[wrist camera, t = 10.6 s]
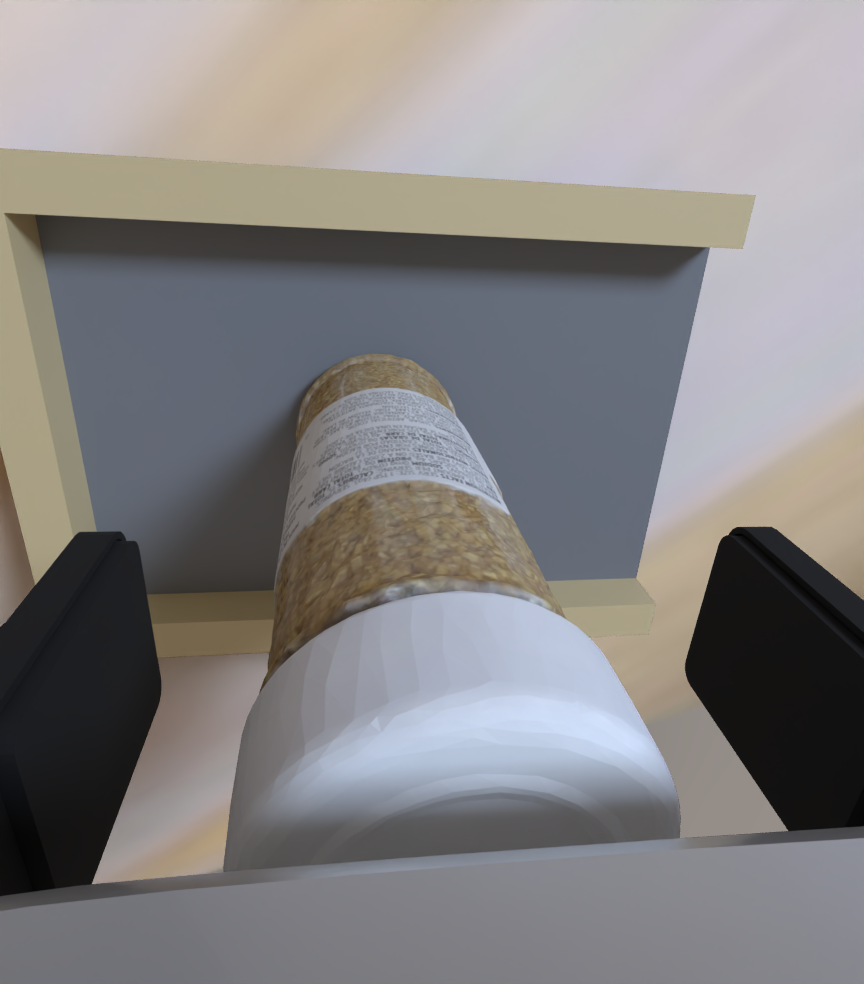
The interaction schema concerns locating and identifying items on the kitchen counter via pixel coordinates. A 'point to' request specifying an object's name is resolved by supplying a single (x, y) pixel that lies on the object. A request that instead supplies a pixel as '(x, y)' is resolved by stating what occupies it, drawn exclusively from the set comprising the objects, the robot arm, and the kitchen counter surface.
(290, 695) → the sprinkles bottle
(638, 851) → the robot arm
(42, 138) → the kitchen counter surface
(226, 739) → the kitchen counter surface
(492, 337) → the tray
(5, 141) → the kitchen counter surface
